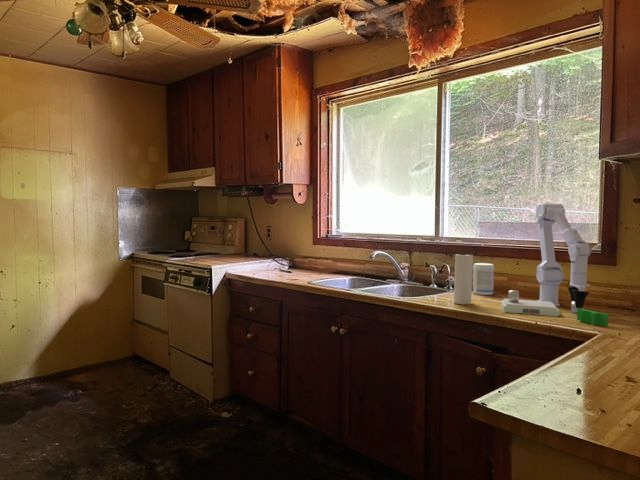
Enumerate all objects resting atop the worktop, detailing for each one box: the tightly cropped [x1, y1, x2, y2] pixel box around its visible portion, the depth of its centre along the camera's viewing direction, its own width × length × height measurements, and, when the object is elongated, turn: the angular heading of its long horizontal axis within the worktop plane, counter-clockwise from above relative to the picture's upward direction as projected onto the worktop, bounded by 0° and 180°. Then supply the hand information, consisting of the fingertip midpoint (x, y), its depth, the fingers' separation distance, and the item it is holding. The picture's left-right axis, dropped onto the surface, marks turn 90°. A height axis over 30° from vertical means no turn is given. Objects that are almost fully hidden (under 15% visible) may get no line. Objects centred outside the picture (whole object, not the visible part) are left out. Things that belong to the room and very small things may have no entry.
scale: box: [500, 298, 560, 317], centre depth 191 cm, size 15×20×3 cm
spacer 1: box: [507, 289, 520, 303], centre depth 193 cm, size 4×4×4 cm
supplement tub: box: [472, 262, 495, 296], centre depth 229 cm, size 10×10×15 cm
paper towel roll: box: [453, 253, 474, 305], centre depth 203 cm, size 7×6×21 cm
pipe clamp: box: [576, 308, 609, 328], centre depth 171 cm, size 11×4×5 cm, turn 25°
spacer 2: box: [570, 301, 584, 315], centre depth 188 cm, size 4×4×4 cm
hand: (577, 306), depth 188 cm, fingers open, 7 cm apart
